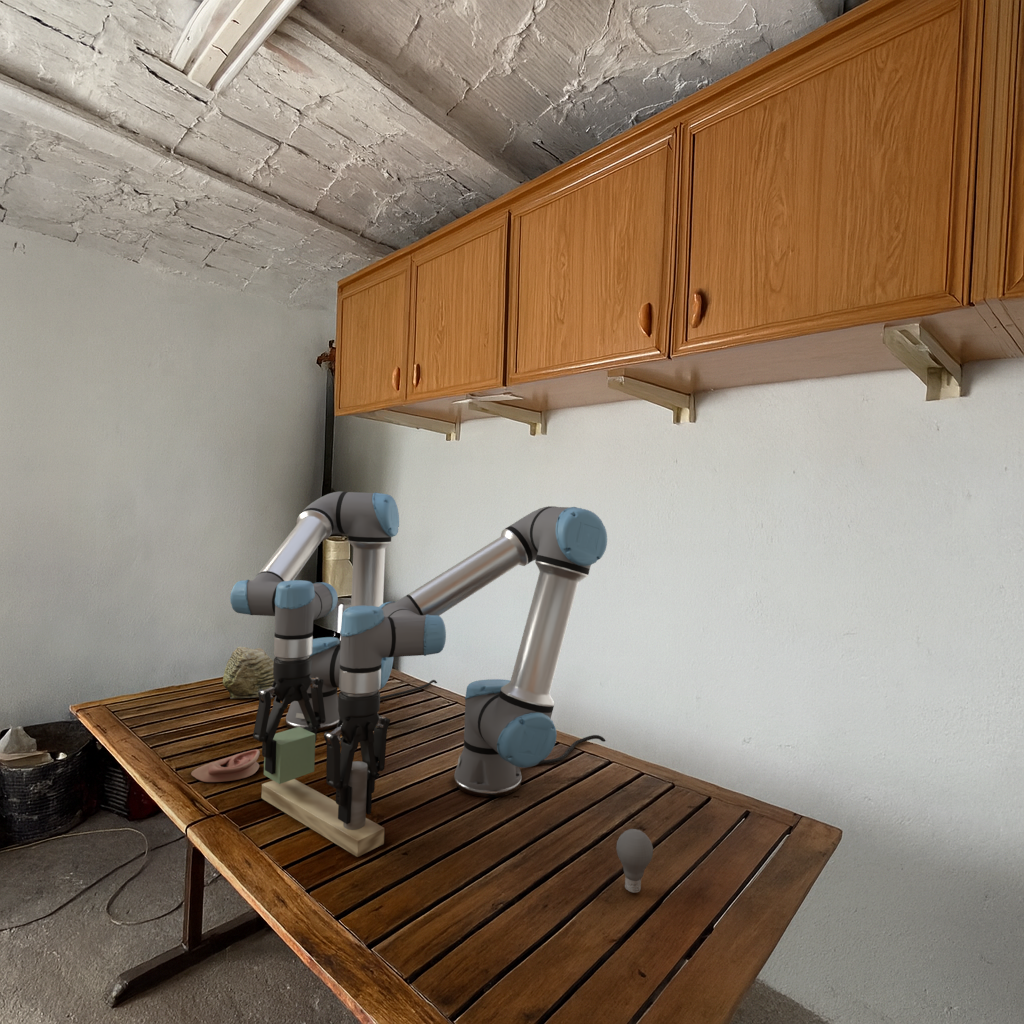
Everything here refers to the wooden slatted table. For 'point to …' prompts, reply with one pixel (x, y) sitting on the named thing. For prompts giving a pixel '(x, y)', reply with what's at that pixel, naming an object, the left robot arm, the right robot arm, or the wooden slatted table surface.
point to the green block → (293, 755)
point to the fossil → (248, 673)
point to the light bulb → (634, 857)
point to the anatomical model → (229, 768)
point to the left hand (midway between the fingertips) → (289, 764)
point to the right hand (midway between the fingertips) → (354, 815)
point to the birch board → (329, 811)
